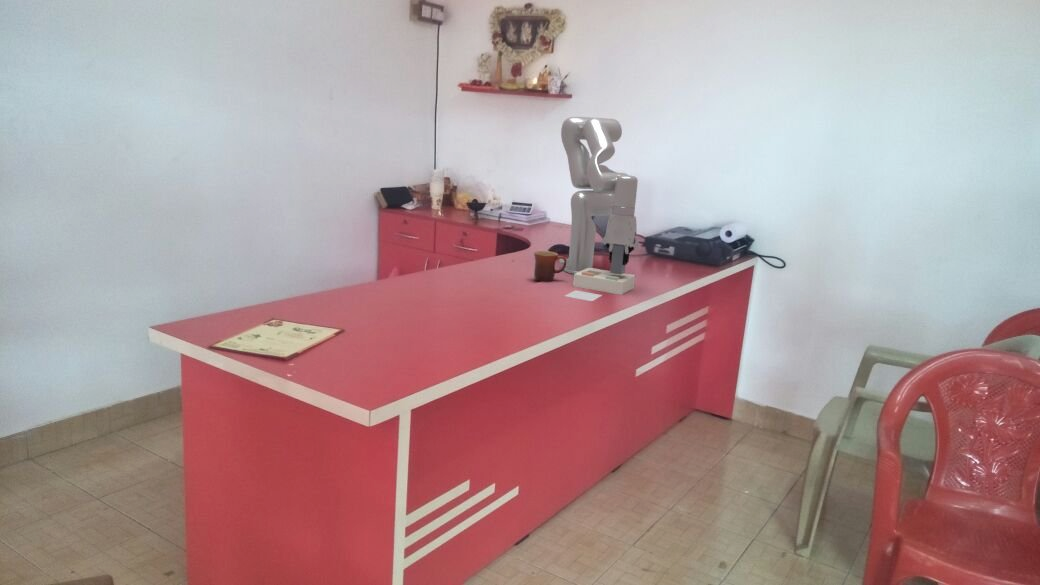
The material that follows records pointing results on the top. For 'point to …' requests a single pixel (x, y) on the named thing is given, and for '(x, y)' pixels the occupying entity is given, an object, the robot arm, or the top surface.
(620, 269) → the dark grey rectangular prism
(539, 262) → the mug
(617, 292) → the socket block
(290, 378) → the top surface
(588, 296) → the mat
